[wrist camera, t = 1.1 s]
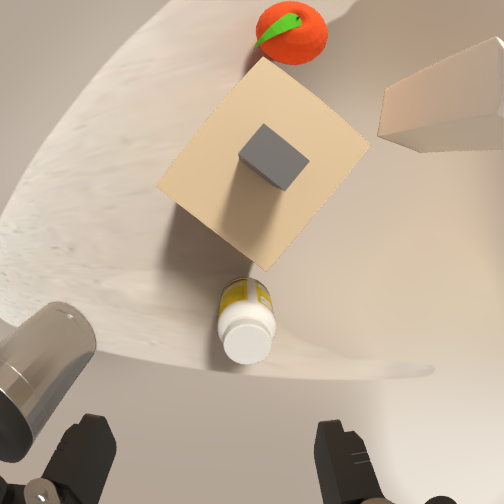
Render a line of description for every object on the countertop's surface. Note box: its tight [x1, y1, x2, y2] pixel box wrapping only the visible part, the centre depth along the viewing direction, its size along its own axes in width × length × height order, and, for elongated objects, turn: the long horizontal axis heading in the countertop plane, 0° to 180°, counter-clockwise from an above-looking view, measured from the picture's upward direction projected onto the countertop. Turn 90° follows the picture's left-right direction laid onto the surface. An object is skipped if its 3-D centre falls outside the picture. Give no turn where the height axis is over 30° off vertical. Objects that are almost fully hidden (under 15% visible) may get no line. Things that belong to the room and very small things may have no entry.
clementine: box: [253, 1, 328, 65], centre depth 25 cm, size 8×7×7 cm
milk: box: [377, 37, 504, 153], centre depth 20 cm, size 6×6×22 cm
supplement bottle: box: [217, 278, 276, 365], centre depth 30 cm, size 5×5×10 cm
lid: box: [156, 56, 371, 272], centre depth 18 cm, size 12×10×7 cm
